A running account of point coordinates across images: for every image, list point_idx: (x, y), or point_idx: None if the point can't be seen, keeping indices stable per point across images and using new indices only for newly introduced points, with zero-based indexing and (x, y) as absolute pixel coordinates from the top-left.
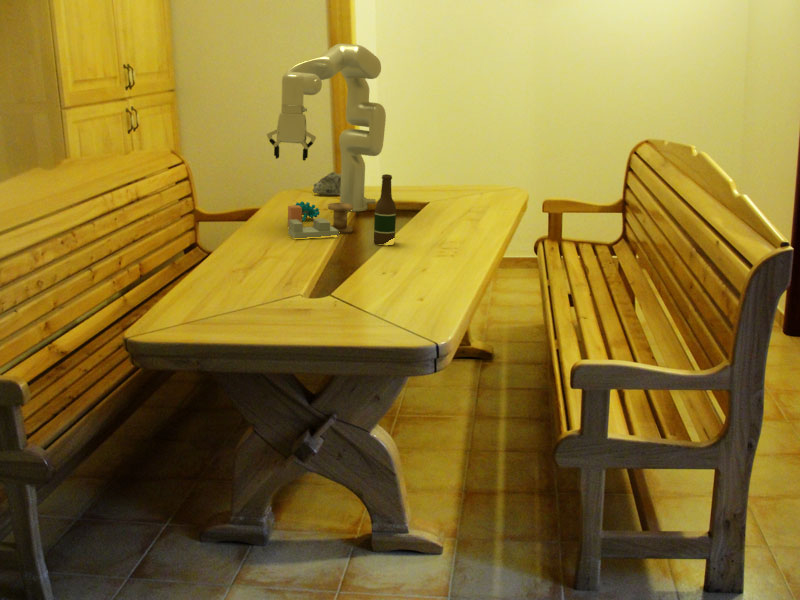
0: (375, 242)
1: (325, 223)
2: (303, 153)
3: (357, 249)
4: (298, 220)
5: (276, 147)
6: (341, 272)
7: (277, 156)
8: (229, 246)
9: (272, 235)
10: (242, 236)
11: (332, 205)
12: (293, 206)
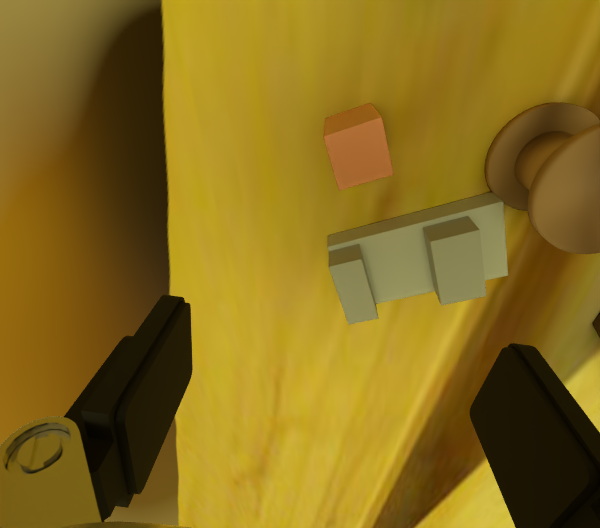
0: (597, 331)
1: (465, 298)
2: (506, 493)
3: None
4: (365, 275)
5: (116, 504)
6: (427, 491)
7: (183, 390)
8: None
9: (276, 248)
10: (187, 266)
11: (559, 204)
12: (351, 152)
